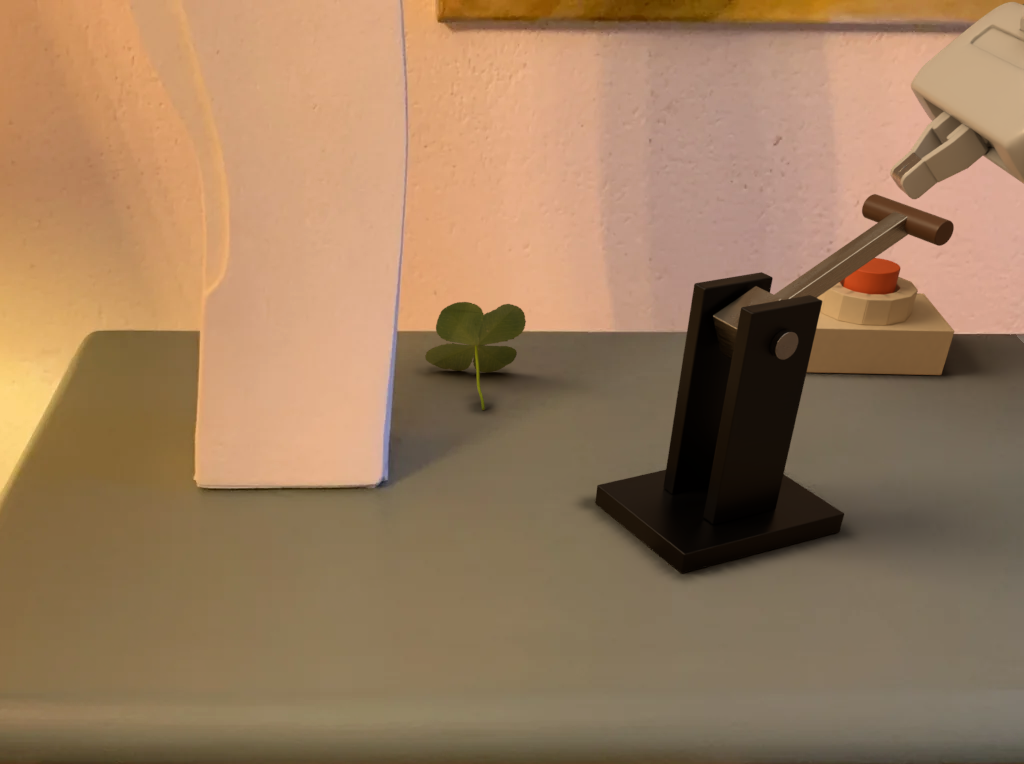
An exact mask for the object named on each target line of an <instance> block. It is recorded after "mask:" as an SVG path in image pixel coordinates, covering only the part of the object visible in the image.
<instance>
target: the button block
mask: <svg viewBox="0 0 1024 764" xmlns="http://www.w3.org/2000/svg"><path fill="white" fill-rule="evenodd" d="M844 281H845V279H843V280H842V281H840V282H839V283H838V284H836V285H835V286H833V287H832V288H830V289H829V290H827V291H826V292H825V293H823V294H822V295H820V296H819V297H817V298H818V299H820V300H822V306H821V310H820V315H819V319H818V324H817V328H816V333H815V337H814V341H813V346H812V350H811V355H810V359H809V364H808V368H807V372H806V373H814V374H815V373H816V374H817V373H819V374H820V373H821V374H824V373H825V374H865V375H867V374H869V375H906V376H907V375H910V376H911V375H913V376H915V375H916V376H942V374H943V372H944V371H943V370H944V367H945V364H946V361H947V358H948V354H949V351H950V348H951V345H952V341H953V339H954V335H955V330H954V329H953V327H952V326H951V325H950V323H948V321H947V320H946V319H945V318H944V316H943V315H942V314H941V313H940V312H939V310H938V309H937V308H936V306H935V305H934V304H933V303H932V302H931V300H930V299H929V298H928V297H927V296H926V294H925V293H919V292H918V291H919V289H918V288H917V286H916V285H914V283H913V282H912V281H911V280H909V279H906V278H903V277H901V276H898V280H897V284H896V288H895V292H894V293H890V294H885V295H883V294H865V293H860V292H855V291H852V290H849V289H847V288H845V287H843V285H844Z"/></svg>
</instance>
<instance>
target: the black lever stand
mask: <svg viewBox="0 0 1024 764" xmlns="http://www.w3.org/2000/svg"><path fill="white" fill-rule="evenodd" d="M772 285H773V276H771V275H769V274H767V273H765V272H763V271H761V272H753V273H749V274H742V275H735V276H730V277H725V278H717V279H713V280H706V281H701V282H694V285H693V290H692V297H691V303H690V310H689V317H688V323H687V324H688V325H687V329H686V336H685V344H684V349H683V355H682V362H681V369H680V375H679V381H678V387H677V395H676V400H675V401H676V402H675V408H674V416H673V421H672V428H671V436H670V440H669V441H670V442H669V447H668V454H667V459H666V460H667V461H666V467H665V469H663V470H657V471H653V472H649V473H645V474H640V475H636V476H632V477H627V478H623V479H620V480H614V481H609V482H605V483H601V484H597V485H596V493H595V505H597V506H598V507H600V508H601V509H602V510H603V511H604V512H605V513H607V515H609V516H610V517H612V518H613V519H614V520H615V521H617V522H618V524H620V525H621V526H623V527H624V528H625V529H626V530H628V531H629V532H630V533H631V534H632V535H634V536H635V537H636V538H637V539H639V540H640V541H641V542H642V543H644V544H645V545H646V546H647V547H648V548H649V549H651V550H652V551H653V552H654V553H656V554H657V555H658V556H660V558H662V559H663V560H664V561H665V562H667V563H668V564H669V565H670V566H672V567H673V568H674V569H676V570H677V571H678V572H679V573H680V574H684V573H688V572H693V571H695V570H700V569H704V568H706V567H710V566H711V567H712V566H714V565H719V564H723V563H726V562H730V561H734V560H739V559H742V558H745V557H749V556H752V555H756V554H760V553H764V552H769V551H772V550H775V549H780V548H783V547H787V546H791V545H794V544H799V543H802V542H807V541H810V540H813V539H814V540H815V539H818V538H821V537H826V536H829V535H832V534H836V533H840V532H841V528H842V524H843V519H844V516H845V512H843V511H841V510H840V509H838V508H836V507H835V506H834V505H832V504H830V503H829V502H827V501H826V500H824V499H822V498H821V497H819V496H818V495H817V494H815V493H813V492H812V491H810V490H808V489H807V488H806V487H804V486H803V485H801V484H799V482H797V481H795V480H793V479H792V478H790V477H788V476H787V475H786V474H785V469H786V465H787V460H788V457H789V452H790V448H791V443H792V439H793V434H794V429H795V425H796V422H797V416H798V412H799V408H800V403H801V399H802V394H803V391H804V385H805V381H806V377H807V373H808V372H807V368H808V364H809V359H810V355H811V350H812V346H813V341H814V337H815V333H816V328H817V324H818V319H819V315H820V310H821V306H822V300H820V299H818V298H816V297H814V296H811V295H808V296H802V297H797V298H791V299H785V300H780V301H774V302H768V303H763V304H757V305H751V306H746V307H742V308H741V311H740V316H739V322H738V327H737V333H736V338H735V344H734V349H733V355H732V360H731V359H729V358H727V357H726V356H724V355H722V354H721V351H720V346H719V342H718V337H717V333H716V329H715V324H714V320H713V315H715V314H716V313H718V312H719V311H720V310H722V309H723V308H725V307H726V306H728V305H729V304H731V303H732V302H733V301H735V300H736V299H738V298H739V297H741V296H742V295H744V294H745V293H746V292H748V291H749V290H751V289H752V288H754V287H755V286H757V287H759V288H761V289H763V290H765V291H767V292H769V293H771V289H772Z"/></svg>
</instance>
